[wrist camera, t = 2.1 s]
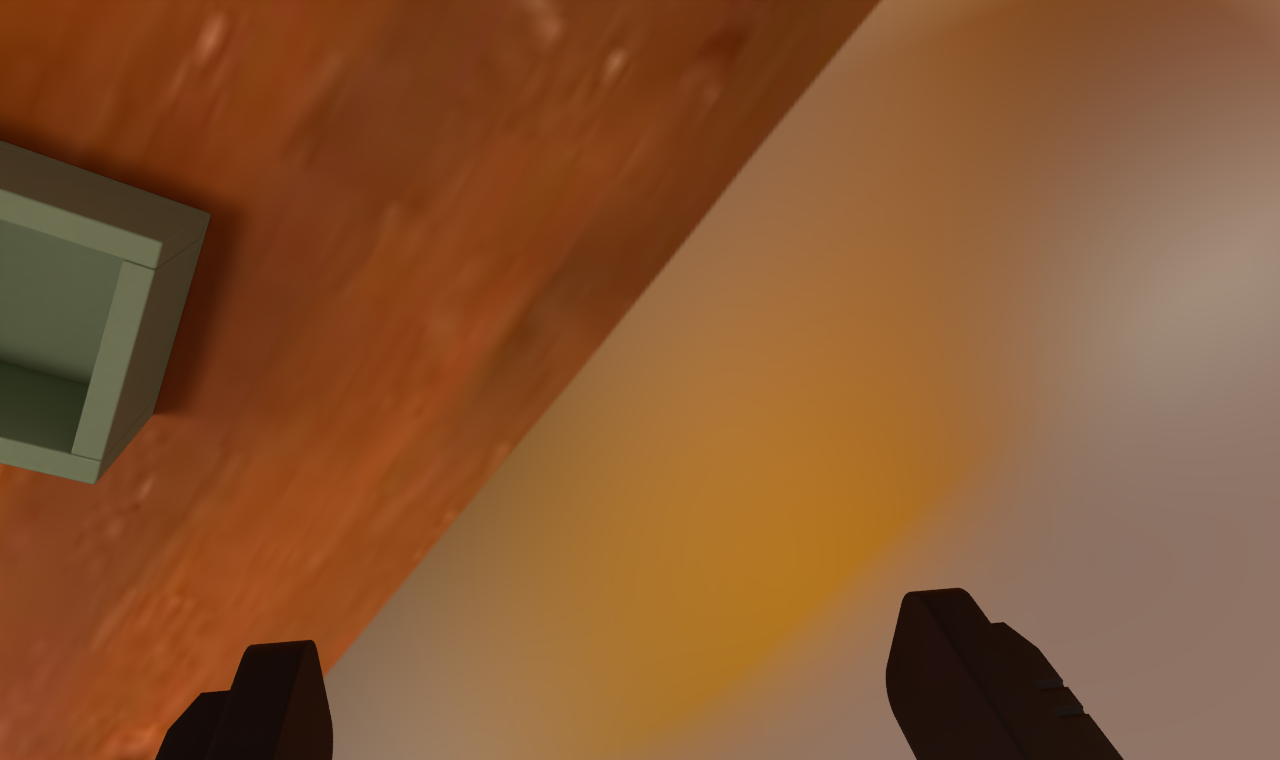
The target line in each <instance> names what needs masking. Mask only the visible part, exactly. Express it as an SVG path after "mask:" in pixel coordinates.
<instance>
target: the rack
mask: <svg viewBox="0 0 1280 760" xmlns="http://www.w3.org/2000/svg"><path fill="white" fill-rule="evenodd" d="M210 216H211V214H210V213H207V212H205V211H202V210H199V209H196V208H193V207H190V206H187V205H184V204H182V203H179V202H176V201H173V200H170V199H167V198H164V197H162V196H159V195H156V194H153V193H150V192H147V191H144V190H141V189H139V188H136V187H133V186H130V185H127V184H124V183H121V182H119V181H116V180H113V179H110V178H107V177H104V176H101V175H99V174H96V173H93V172H90V171H87V170H84V169H81V168H78V167H76V166H73V165H70V164H67V163H64V162H61V161H58V160H56V159H53V158H50V157H47V156H44V155H41V154H38V153H35V152H33V151H30V150H27V149H24V148H21V147H18V146H15V145H13V144H10V143H7V142H4V141H1V140H0V463H3V464H7V465H11V466H16V467H20V468H24V469H29V470H33V471H37V472H42V473H46V474H50V475H54V476H59V477H63V478H67V479H72V480H76V481H80V482H85V483H89V484H96V483H97V481H98V480H99V479H100V478H101V477H102V475H103V474H104V473H105V472H106V471H107V469H108V468H109V467H110V466H111V464H112V463H113V462H114V461H115V460H116V458H117V457H118V456H119V455H120V454H121V452H122V451H123V450H124V449H125V448H126V446H127V445H128V444H129V443H130V442H131V440H132V439H133V438H134V437H135V435H136V434H137V433H138V432H139V431H140V429H141V428H142V427H143V426H144V425H145V423H146V422H147V421H148V420H149V419H150V417H151V416H152V415H153V411H154V408H155V405H156V401H157V398H158V394H159V391H160V387H161V384H162V381H163V377H164V374H165V370H166V367H167V364H168V360H169V357H170V353H171V350H172V346H173V343H174V340H175V336H176V333H177V329H178V326H179V322H180V319H181V316H182V312H183V309H184V305H185V302H186V299H187V295H188V292H189V288H190V285H191V281H192V278H193V275H194V271H195V268H196V264H197V261H198V258H199V254H200V251H201V247H202V244H203V240H204V237H205V234H206V230H207V227H208V223H209V220H210Z"/></svg>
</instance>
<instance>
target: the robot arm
mask: <svg viewBox="0 0 1280 760" xmlns="http://www.w3.org/2000/svg"><path fill="white" fill-rule="evenodd" d="M886 688H887V694H888V698H889V702H890V706H891V709H892V711H893V714H894V716H895V718H896V720H897V722H898V723H899V726H900V727H901V730H902V732H903V734H904V735H905V737H906V739H907V741H908V743H909V745H910V747H911V749H912V751H913V753H914V755H915V757H916V759H917V760H1123V758H1122V757H1121V756H1120V754H1119V753H1118V752H1117V750H1116V749H1115V748H1114V746H1113V745H1112V744H1111V743H1110V741H1109V740H1108V739H1107V737H1106V736H1105V735H1104V733H1103V732H1102V731H1101V729H1100V728H1099V727H1098V726H1097V724H1096V723H1095V722H1094V720H1093V719H1092V718H1091V716H1090V715H1089V714H1085V713H1084V711H1083V706H1082V705H1081V703H1080V702H1079V701H1078V699H1077V698H1076V697H1075V696H1074V694H1073V693H1072V692H1071V690H1070V689H1069V688H1068V687H1064V685H1063V680H1062V679H1061V677H1060V676H1059V675H1058V673H1057V672H1056V671H1055V669H1054V668H1053V667H1052V666H1051V664H1050V663H1049V662H1048V660H1047V659H1046V658H1045V656H1044V655H1043V654H1042V653H1041V651H1040V650H1039V649H1038V648H1037V647H1036V646H1034V645H1033V644H1032V643H1030V642H1029V641H1028V640H1027V639H1025V638H1024V637H1022V636H1021V635H1020V634H1019V633H1017V632H1016V631H1015V630H1013V629H1012V628H1011V627H1009V626H1008V625H1007V624H1005V623H1004V622H1001V623H990V621H989V620H988V619H987V617H986V616H985V615H984V613H983V612H982V610H981V609H980V608H979V606H978V605H977V604H976V602H975V601H974V599H973V598H972V597H971V596H970V594H969V593H968V592H966V591H965V590H964V589H961V588H950V589H938V590H926V591H914V592H909V593H907V594H906V595H905V596H904V598H903V600H902V603H901V608H900V612H899V617H898V620H897V625H896V629H895V633H894V637H893V642H892V646H891V650H890V654H889V659H888V663H887V668H886ZM332 754H333V728H332V720H331V715H330V710H329V705H328V700H327V696H326V691H325V686H324V681H323V676H322V671H321V666H320V662H319V657H318V652H317V648H316V645H315V643H314V641H312V640H303V641H291V642H279V643H267V644H255V645H250V646H249V647H248V648H247V649H246V651H245V652H244V654H243V657H242V659H241V662H240V665H239V667H238V670H237V673H236V675H235V678H234V681H233V684H232V686H231V689H230V690H228V691H217V692H206V693H201V694H200V695H199V696H198V697H197V698H196V699H195V700H194V702H193V703H192V704H191V705H190V706H189V707H188V708H187V709H186V710H185V712H184V713H183V714H182V715H181V716H180V717H179V718H178V719H177V721H176V722H175V723H174V724H173V725H172V726H171V727H170V728H169V729H168V731H167V733H166V736H165V738H164V740H163V742H162V745H161V747H160V749H159V752H158V754H157V756H156V759H155V760H332Z"/></svg>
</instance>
